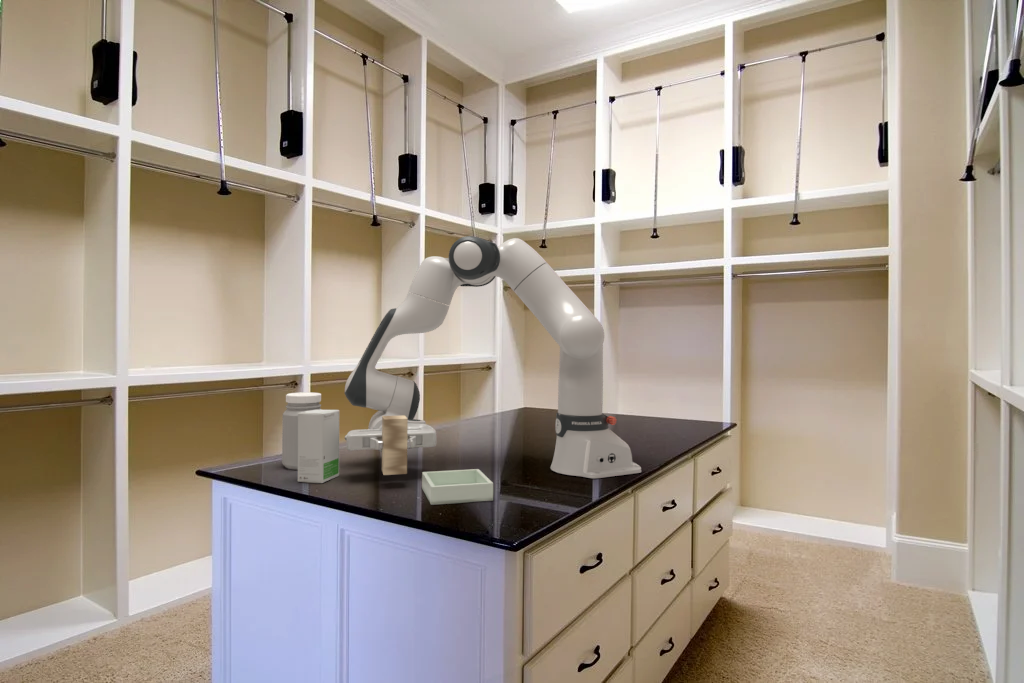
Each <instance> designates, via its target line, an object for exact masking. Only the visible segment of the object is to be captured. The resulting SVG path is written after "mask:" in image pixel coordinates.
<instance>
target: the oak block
mask: <svg viewBox="0 0 1024 683" xmlns="http://www.w3.org/2000/svg"><path fill="white" fill-rule="evenodd" d="M407 428H408V419H407V417H406V416H405V415H403V416H382V440H383V449H382V452H381V472H382V474H383V476H391V475H393V476H394V475H407V474H408V449H407Z"/></svg>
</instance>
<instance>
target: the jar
mask: <svg viewBox="0 0 1024 683" xmlns="http://www.w3.org/2000/svg"><path fill="white" fill-rule="evenodd" d="M321 401H322V393H320V392H310V391H307V392H291V393H287V394H285V403H287V404H286V406H285V408H286V409H285V410H284V412H283V413H282V433H281V434H282V437H281V438H282V447H281V448H282V450H281V451H282V452H281V456H282V458H281V462H282V465H283V466H284V467H285V468H286V469H288V470H297V471H298V413H299V412H304V411H310V410H323V409H322V404H320V403H321Z"/></svg>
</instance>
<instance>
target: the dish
mask: <svg viewBox="0 0 1024 683" xmlns="http://www.w3.org/2000/svg"><path fill="white" fill-rule="evenodd" d="M421 473H422V474H421V489H422V491H423V493H424V494H425V496H426V498H427V500H428V502H429V504H430V505H432V506H434V505H446V504H447V505H449V504H450V505H451V504H462V503H463V504H464V503H475V502H477V503H478V502H491V501H494V482H493V481H492V480H490V478H488V477H487V475H485V473H484V472H482V470H480V469H479V468H474V469H473V468H471V469H454V470H437V471H435V470H434V471H422V472H421Z"/></svg>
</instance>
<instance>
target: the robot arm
mask: <svg viewBox="0 0 1024 683" xmlns="http://www.w3.org/2000/svg"><path fill="white" fill-rule="evenodd" d="M496 277H497V278H499V279H502V280H503V282H505V283H506V284H507V285H508V286H509V288H511V290H512V291H513V292H514V293H515V294H516V296H517V297H518V299H519V300H521V301H522V303H523V304H524V305H525V306H526V307H527V309H529V312H531V313H532V314H533V316H535V318H536V319H537V321H539V323H540V324H541V325H542V326H543V327H542V328H544V329H545V331H546V332H547V333H548V334H549V335H550V336H551V338H552V339H553V340H554V342H555V343H556V344H557V345H558V346H559V362H558V364H559V365H558V366H559V367H558V368H559V369H558V385H557V386H558V388H557V390H558V392H557V394H558V395H557V396H558V397H557V398H558V399H557V412H556V413H555V416H556V417H555V435H556V441H555V447H554V448H555V449H554V453H553V458H552V462H551V465H550V467H549V468H550V470H551V471H553V472H555V473H557V474H562V475H567V476H576V477H583V478H588V479H601V478H610V477H615V476H616V477H617V476H624V475H633V474H639V473H642V467H641V466H640V465H639V464H637V463H636V462H634V461H633V454H632V450H631V447H630V446H629V444H628V443H627V442H626V441H625V440H623V439H622V438H621V437H620V436H618V435H617V434H616V433H615V432H613V431H612V430H611V429H610V426H609V425H612V426H614V425H616V424H617V421H618V420H617V418H616V416H612V415H606V414H604V413H603V406H604V405H603V401H604V400H603V398H604V396H603V394H604V391H603V390H604V388H603V386H604V384H603V383H604V366H603V365H604V363H603V362H604V341H605V331H604V327H603V325H602V323H601V322H600V320H599V319H598V318H597V317H596V316H595V315H594V314H593V312H591V310H590V309H589V308H588V307H587V306H586V305H585V304H584V302H582V300H581V299H580V298H579V297H578V296H577V294H575V292H574V291H573V290H572V289H571V288H570V287H569V286H568V285H567V284H566V283H565V281H564V280H563V279H562V278H561V276H560V275H559V274H557V272H555V270H554V269H553V267H551V265H550V264H549V263H548V262H547V261H546V260H545V259H544V257H543V256H541V255H540V253H538V252H537V251H536V249H534V248H533V247H532V246H531V245H529V243H527V242H526V241H524V239H520V238H518V237H514V238H509V239H507V240H505V241H504V242H502V243H501V244H500V245H497V244H496V243H495V242H493V241H490V240H488V239H484V238H481V237H478V236H474V235H473V236H472V235H467V236H462V237H460V238H458V239H457V240H455V241H454V243H453V244H452V245H451V247H450V249H449V251H448V257H443V256H440V255H439V256H437V255H436V256H435V255H433V256H428V257H426V258H424V259H423V260H422V261H421V263H420V265H419V266H418V269H417V271H416V273H415V274H414V277H413V279H412V281H411V283H410V286H409V289H408V292H407V294H406V296H405V298H404V300H403V301H402V302H401V304H399V306H398V307H395V308H390V309H389V310H388V311H387V312H386V314H385V315H384V316H383V318H382V320H381V321H380V323H379V324H378V327H377V328H376V330H375V332H374V333H373V336H372V337H371V339H370V341H369V343H368V344H367V347H366V348H365V350H364V352H363V353H362V356H361V357H360V360H359V361H358V363H357V364H356V366H355V368H354V369H353V370H352V371H351V372H350V375H349V376H348V378H347V379H346V382H345V386H344V396H345V398H346V399H347V400H348V402H349V403H350V404H351V406H354V407H359V408H368V409H372V410H375V411H376V412H375V413H374V414H373V415H372V416H371V418H370V421H369V423H368V429H365V428H364V429H362V428H361V429H352V430H349V431H348V432H347V434H346V435H344V440H345V441H346V450H347V451H370V450H377V451H378V452H380V453H382V449H383V440H382V416H403V415H405V416H406V417H407V419H408V428H407V450H410V449H417V448H433V447H436V446H437V430H436V429H435V428H434V427H433V426H431V425H429V424H427V423H426V421H425V420H423V419H417V418H416V419H415V417H416V414H417V412H418V409H419V405H420V400H421V399H420V398H421V394H420V389H419V387H418V385H417V383H416V382H415V380H411V379H408V378H405V377H403V376H398V375H393V374H391V373H387V372H384V371H381V370H378V369H376V366H377V364H378V362H379V360H380V358H381V356H382V355H383V353H384V351H385V349H386V347H387V345H388V343H389V342H390V341H391V340H392V339H394V338H395V337H397V336H402V335H410V334H411V335H412V334H413V335H414V334H425V333H429V332H432V331H435V330H437V329H439V327H441V326H442V325H443V323H444V321H445V319H446V317H447V315H448V312H449V309H450V306H451V303H452V299H453V297H454V294H455V291H456V290H458V288H459V287H472V288H473V287H475V288H476V287H485V286H487V285H489V284H490V283H491V282H493V281H494V280H495V279H496Z"/></svg>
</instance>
